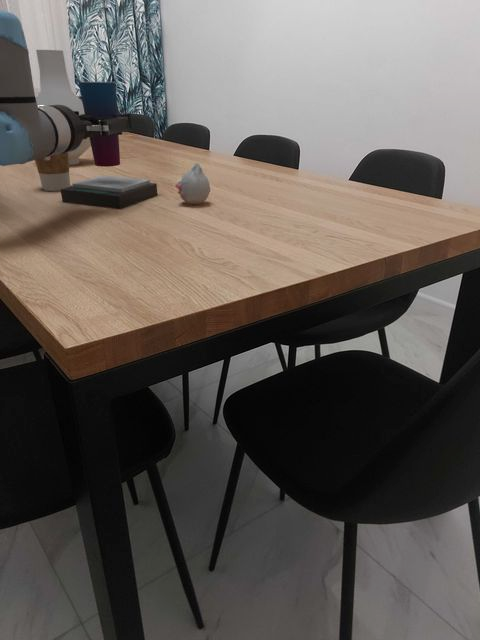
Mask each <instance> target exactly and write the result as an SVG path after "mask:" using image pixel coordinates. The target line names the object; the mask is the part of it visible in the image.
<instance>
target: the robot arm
mask: <svg viewBox="0 0 480 640" xmlns="http://www.w3.org/2000/svg"><path fill="white" fill-rule="evenodd" d="M26 41H27V40H26V36H25V32H24V29H23V25H22V22H21V21H20V19H19V17H18V16H17V15H15V14H14V13H12V12H10V11H5V10H0V167H6V166H12V165H25V164H27V163H30V162H33V161H35V160H37V159H40V158H44V160H47V161H48V160H50V156H52V155H57V154H62V153H67V152H71V151H74V150H75V149H77V148H78V147H79V146H80V144H81V142H82V140H83V139H87V138H88V137H95V136H97V134H98V133H100V135H102V136H109V135H110V134H116V133H117V134H118V135H120V136H123V133H126V132H130V129H132V120H131V119H132V118H131V113H120V114H117V115H113V116H112V117H104V118H95V117H94V116H85V114H82V115H79V111H73V110H71V109H70V108H68V107H66V106H64V105H44V106H37V102H36V97H37V96H36V95H35V89H34V87H35V86H34V82H33V81H34V80H33V75H32V69H31V61H30V55H29V54H30V53H29V49H28V44H27V42H26Z"/></svg>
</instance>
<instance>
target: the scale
mask: <svg viewBox="0 0 480 640" xmlns="http://www.w3.org/2000/svg"><path fill="white" fill-rule="evenodd" d="M60 190H61V191H60V196H61V201H62V203H70V204H77V205H87V206H93V207H102V208H109V209H110V208H111V209H118V210H120V209H123V208H126V207H130V206H132V205H135V204H137V203H140V202H142V201H145V200H148V199H151V198H153V197H157V196H158V184H157V183H155V182H151V180H150V179H143V178H136V177H135V178H134V177H133V178H132V177H125V176H113V175H105V174H104V175H100V176H96V177H95V176H94V177H92V178H87V179H83V180H81V181H76V182H73V183H72V184H71V185H70V187H67V188H64V189H60Z"/></svg>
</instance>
